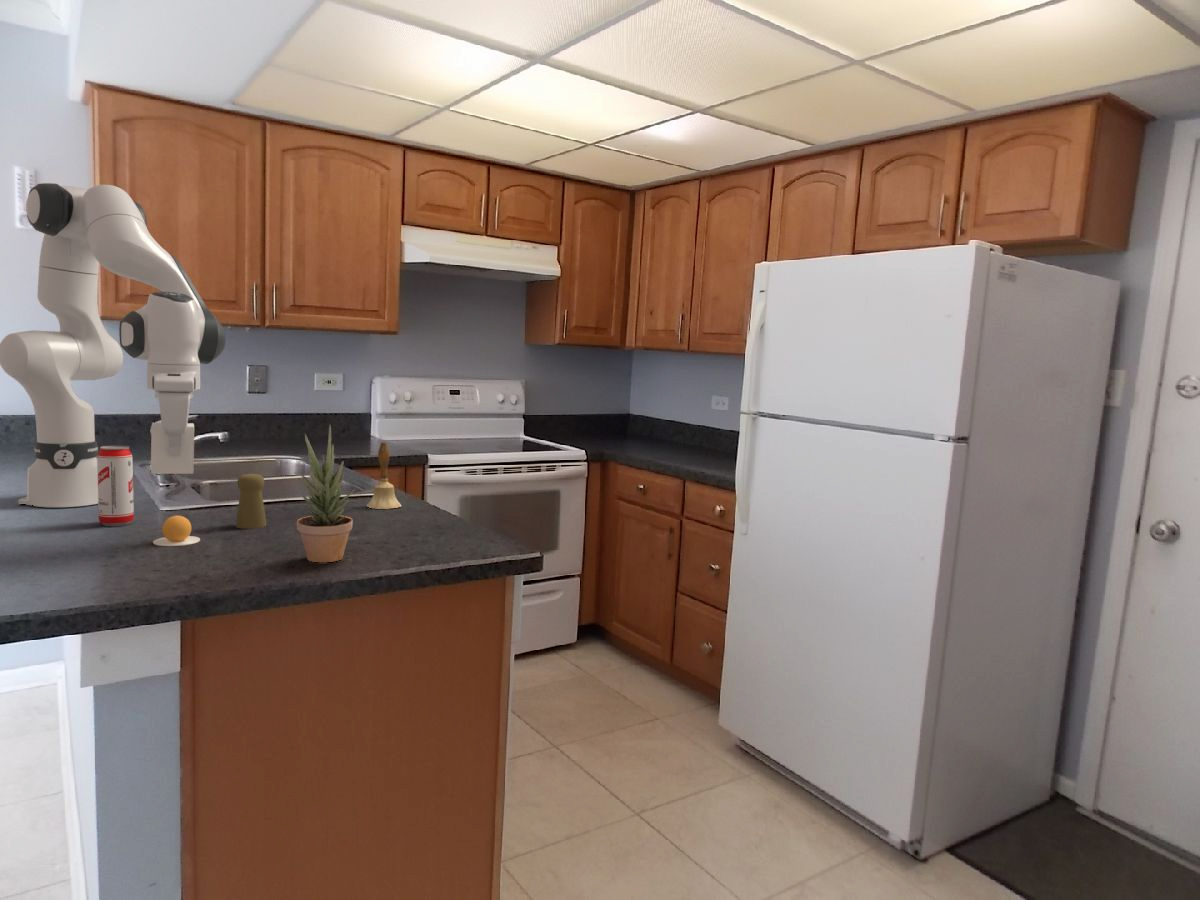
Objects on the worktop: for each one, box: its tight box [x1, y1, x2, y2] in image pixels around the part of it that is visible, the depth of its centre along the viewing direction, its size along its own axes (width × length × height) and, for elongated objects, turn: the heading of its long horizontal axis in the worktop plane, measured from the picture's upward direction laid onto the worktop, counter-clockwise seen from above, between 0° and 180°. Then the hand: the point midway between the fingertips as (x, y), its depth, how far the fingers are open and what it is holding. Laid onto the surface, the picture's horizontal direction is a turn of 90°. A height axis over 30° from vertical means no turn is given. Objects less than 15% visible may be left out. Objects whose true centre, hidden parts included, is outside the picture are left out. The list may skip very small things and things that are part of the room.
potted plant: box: [296, 424, 356, 563], centre depth 145 cm, size 10×10×25 cm
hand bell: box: [366, 441, 402, 509], centre depth 197 cm, size 8×8×16 cm
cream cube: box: [150, 422, 195, 475], centre depth 153 cm, size 7×7×9 cm
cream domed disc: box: [152, 535, 201, 547], centre depth 155 cm, size 8×8×1 cm
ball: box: [161, 515, 192, 542], centre depth 154 cm, size 5×5×5 cm
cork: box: [235, 473, 267, 530], centre depth 170 cm, size 6×6×11 cm
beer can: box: [96, 445, 135, 527], centre depth 166 cm, size 6×6×16 cm
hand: (175, 453), depth 153 cm, fingers closed on cream cube, 7 cm apart
